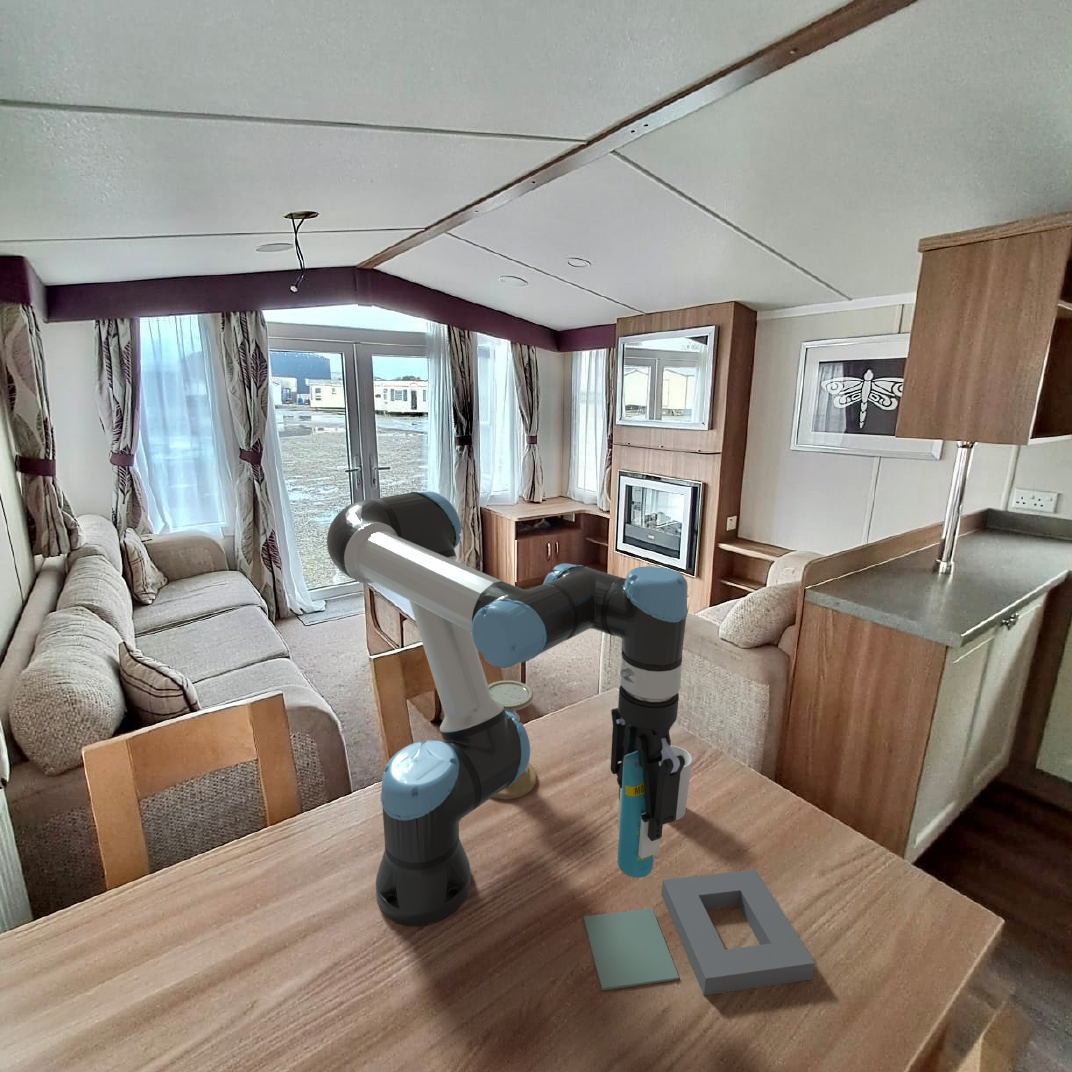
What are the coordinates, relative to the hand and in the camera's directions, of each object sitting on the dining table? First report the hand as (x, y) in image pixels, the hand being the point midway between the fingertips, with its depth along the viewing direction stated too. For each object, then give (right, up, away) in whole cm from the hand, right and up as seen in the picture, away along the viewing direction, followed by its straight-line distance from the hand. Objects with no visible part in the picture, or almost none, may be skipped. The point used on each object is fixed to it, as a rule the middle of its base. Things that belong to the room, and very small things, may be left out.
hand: (637, 839), depth 80 cm
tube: (0, -4, +1) cm, 4 cm away
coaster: (0, -18, +5) cm, 19 cm away
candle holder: (-20, -9, +40) cm, 46 cm away
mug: (+11, -11, +34) cm, 38 cm away
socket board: (+15, -18, +7) cm, 25 cm away
